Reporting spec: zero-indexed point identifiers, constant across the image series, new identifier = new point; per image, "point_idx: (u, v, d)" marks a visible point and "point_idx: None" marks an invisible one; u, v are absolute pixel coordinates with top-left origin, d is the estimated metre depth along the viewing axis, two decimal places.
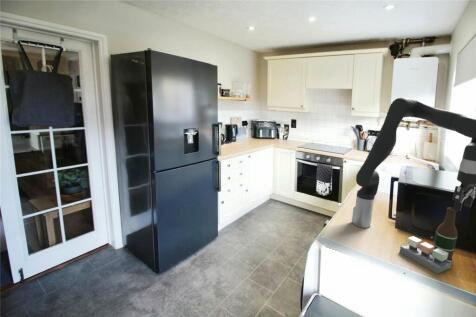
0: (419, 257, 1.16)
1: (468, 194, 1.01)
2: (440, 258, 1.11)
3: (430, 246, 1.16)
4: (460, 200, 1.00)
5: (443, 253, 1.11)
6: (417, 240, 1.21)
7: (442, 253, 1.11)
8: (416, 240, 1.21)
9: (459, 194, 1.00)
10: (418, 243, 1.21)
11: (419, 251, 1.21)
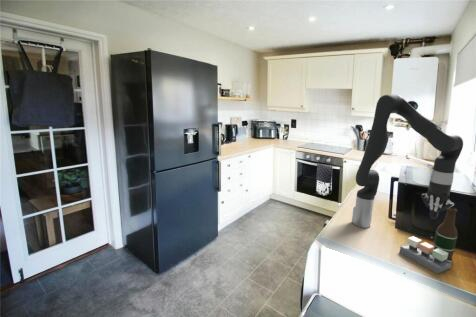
0: (419, 257, 1.16)
1: None
2: (440, 258, 1.11)
3: (430, 246, 1.16)
4: None
5: (443, 253, 1.11)
6: (417, 240, 1.21)
7: (442, 253, 1.11)
8: (416, 240, 1.21)
9: (448, 208, 1.09)
10: (418, 243, 1.21)
11: (419, 251, 1.21)
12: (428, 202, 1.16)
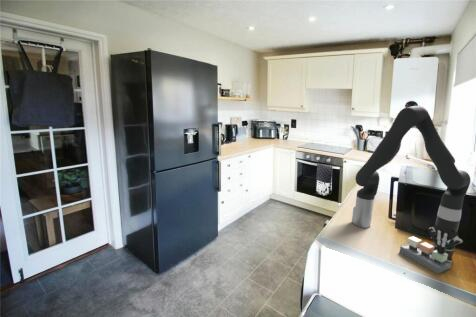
0: (419, 257, 1.16)
1: None
2: (440, 259, 1.11)
3: (430, 246, 1.16)
4: None
5: (443, 254, 1.11)
6: (417, 240, 1.21)
7: (442, 254, 1.11)
8: (416, 240, 1.21)
9: (456, 244, 1.07)
10: (418, 243, 1.21)
11: (419, 251, 1.21)
12: (435, 236, 1.14)
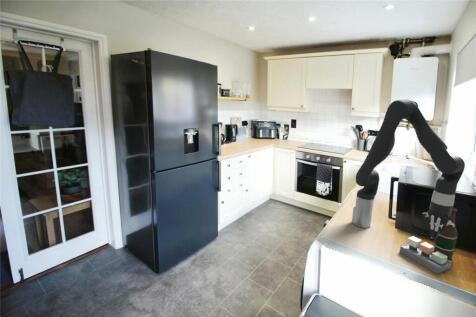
0: (419, 257, 1.16)
1: None
2: (439, 261, 1.11)
3: (430, 246, 1.16)
4: None
5: (442, 256, 1.12)
6: (417, 240, 1.21)
7: (441, 256, 1.12)
8: (416, 240, 1.21)
9: (449, 228, 1.10)
10: (418, 243, 1.21)
11: (419, 251, 1.21)
12: (429, 221, 1.17)
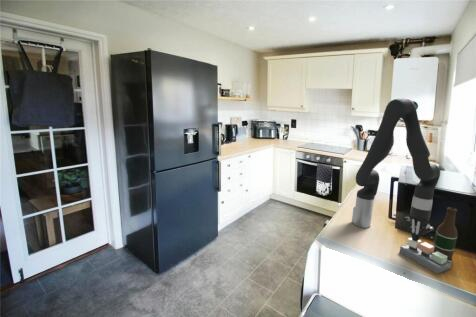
0: (419, 257, 1.16)
1: None
2: (439, 261, 1.11)
3: (430, 246, 1.16)
4: None
5: (442, 256, 1.12)
6: (417, 241, 1.21)
7: (441, 256, 1.12)
8: (416, 241, 1.21)
9: (428, 231, 1.17)
10: (418, 244, 1.21)
11: (419, 251, 1.21)
12: (410, 225, 1.24)
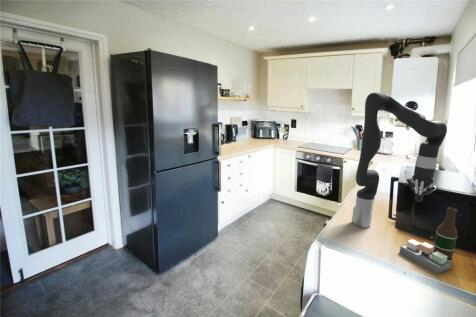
0: (419, 257, 1.16)
1: None
2: (439, 261, 1.11)
3: (430, 246, 1.16)
4: None
5: (442, 256, 1.12)
6: (416, 243, 1.22)
7: (441, 256, 1.12)
8: (415, 243, 1.21)
9: (432, 191, 1.14)
10: (417, 246, 1.21)
11: (419, 251, 1.21)
12: (413, 186, 1.22)
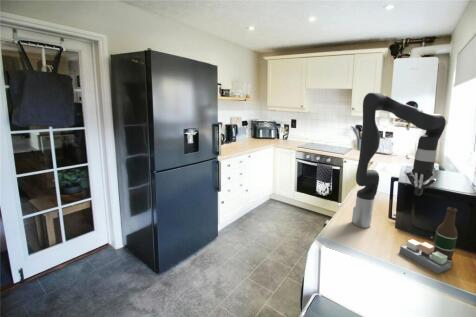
0: (419, 257, 1.16)
1: None
2: (439, 261, 1.11)
3: (430, 246, 1.16)
4: None
5: (442, 256, 1.12)
6: (416, 243, 1.22)
7: (441, 256, 1.12)
8: (415, 243, 1.21)
9: (432, 184, 1.14)
10: (417, 246, 1.21)
11: (419, 251, 1.21)
12: (413, 180, 1.21)
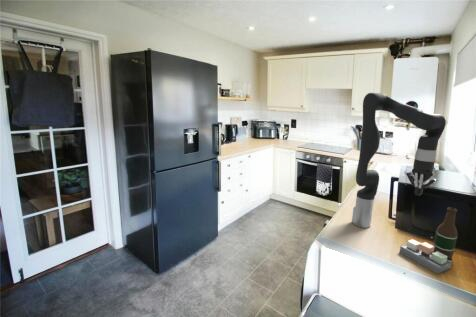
0: (419, 257, 1.16)
1: None
2: (439, 261, 1.11)
3: (430, 246, 1.16)
4: None
5: (442, 256, 1.12)
6: (416, 243, 1.22)
7: (441, 256, 1.12)
8: (415, 243, 1.21)
9: (432, 184, 1.14)
10: (417, 246, 1.21)
11: (419, 251, 1.21)
12: (413, 180, 1.21)
